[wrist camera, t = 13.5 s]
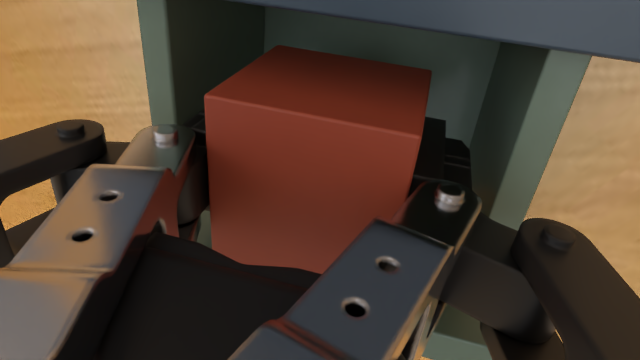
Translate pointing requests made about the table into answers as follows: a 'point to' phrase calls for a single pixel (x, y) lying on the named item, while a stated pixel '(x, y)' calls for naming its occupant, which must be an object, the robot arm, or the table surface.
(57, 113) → the table surface
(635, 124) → the table surface
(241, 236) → the block
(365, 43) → the drawer
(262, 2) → the cabinet
